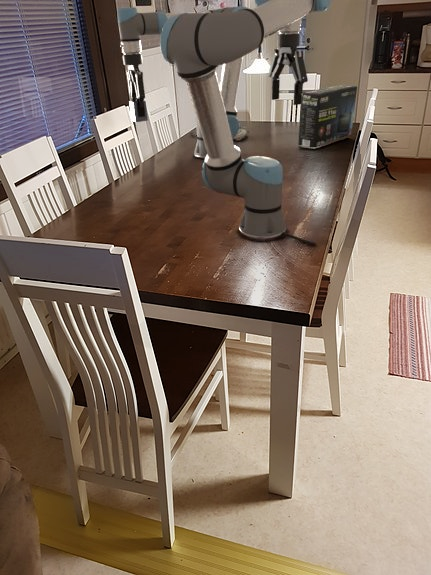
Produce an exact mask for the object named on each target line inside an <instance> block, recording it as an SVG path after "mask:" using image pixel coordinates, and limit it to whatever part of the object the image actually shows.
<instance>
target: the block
mask: <svg viewBox="0 0 431 575" xmlns="http://www.w3.org/2000/svg"><path fill="white" fill-rule="evenodd" d="M128 102H129V110H130V118H131V121H132V122H134V123H141V122H147V121H149V116H148V108H147V101H146V100H144V109H145V116H144V117H139V116H138V108H137V101H136V100H132V99H131V100H129V101H128Z"/></svg>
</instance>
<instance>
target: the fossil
mask: <svg viewBox="0 0 431 575" xmlns="http://www.w3.org/2000/svg"><path fill="white" fill-rule="evenodd" d="M249 132H250V129H249V128H248V127H245V126H242V127H241V126H240V127H239V131H238V134H237V135H236V136H235V137H234V138H233V140H234V139H240V138H243V139H245V137H247V135H246V134H247V133H249ZM249 134H250V133H249ZM244 136H245V137H244ZM235 141H236V142H240V141H241V140H235Z"/></svg>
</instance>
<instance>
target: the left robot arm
mask: <svg viewBox="0 0 431 575" xmlns="http://www.w3.org/2000/svg"><path fill="white" fill-rule="evenodd" d="M245 8H248V7H247V6H241V5H238V6H231V7H230V6H227V7H221V8H218V9H207V10H205V11H204V12H203V13H225V12H237V11H240V10H242V9H245ZM183 13H184V12H164V11H155V12H154V11H153V12H138V9H137V7H134V6H133V7H119V8H118V9H117V24H118V30H119V38H120V45H119V46H120V48H121V53H122V54H123V55H122V61H123V66H128V69H126V70H125V72H126V76H127V77H126V78H127V84H128V85H127V86H128V91H129V92H128V94H129V96H130V98H131V101H132V100H136V101H137V108H138V116H139V117H144V116H145V109H144V101H145V99H146V94H145V85H144V72H143V71H141V69H140V65H142V64H144V63H143V54H142V51H143V50H142V42H141V41H142V40H141V36H153V35H158V36H161V33H162V28H163V26H164V24H165V22H166V21H167V20H168V19H169V18H170V17H172V16H174V15H179V14H183ZM187 13H188V14H194V13H195V12H187ZM243 59H244V56H243V57H241V58H239V59H237V60H234V61H232V62H229V63H226V64H223V65H221V70H220V75H219V76H220V77H219V82H218V84H219V88H220V92H221V96H222V99H223V103H224V107H225V111H226V115H227V119H228V123H229V127H230V131H231V135H232V139H233V138H234V137H235V136H236V135H237V134H238V131H239V127H241V126H240V121H239V119H238V118H237V116H238V110H237V108H236V102H237V97H238V92H239V83H240V80H241V79H240V78H241V72H242V66H243ZM195 126H196V134H195V133H194V131H191V132H192V133H194V134H195V135H194V134H192V133H191V132H190V134H191V135H192V136H194V137H195V138H196V144H195V148H194V150H193V152H194V153H193V156H194V158H196V159H199V160H205V157H206V155H207V154H208V153H207V150H206V146H205V143H204V140H203V137H202V133H201V130H200V127H199V123H198V120H197V117H196V116H195ZM196 135H197V136H196ZM233 140H234V139H233Z"/></svg>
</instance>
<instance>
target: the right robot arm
mask: <svg viewBox="0 0 431 575" xmlns="http://www.w3.org/2000/svg"><path fill="white" fill-rule="evenodd" d="M331 3H332V0H254V4H255V7H254V8H250V7H247V8H245V9H242V10H240V11H237V12H225V13H204V12H193V13H194V14H188V13H189V12H182V13H183V14H179V15H174V16H172V17H170V18H169V19H168V20H167V21H166V22H165V24H164V26H163V28H162V33H161V34H160V35H159V36H160V37H159V48H160V52H161V56H162V58H163V59H164V60H165V61H166V62H168V63H169V64H171V65H172V66H174V67H175V70H176V73H177V77H178V78H179V79H181V80H183V81H185V84H186V87H187V90H188V93H189V96H190V101H191V103H192V107H193V111H194V113H195V118H196V117H197V120H198V123H199V127H200V130H201V133H202V137H203V140H204V143H205V146H206V150H207V153H208V154H207V155H206V157H205V159H204V161H203V163H202V167H201V168H202V170H201V177H202V180H203V183H204V185H205V186H206V188H208V189H209V190H211V191H213V192H216V193H220V194H224V195H227V196H228V195H229V196H232V197H237V198H242V199H243V200H244V211H243V213H242V216H241V220H240V222H239V226H238V232H239V235H240V236H241V237H242V238H244V239H247V240H250V241H254V242H271V241H277V240H279V239H281V238H283V237H287V238H290V239H293V240H294V241H297V242H301V243H303V244H305V245H306V244H307V245H310V246H314V247H315V246H317V242H314V241H310V240H307V239H304V238H301V237H298V236H296V235H293V234H290V233H287V223H286V221H285V216H284V214H283V210H282V200H283V183H284V174H283V173H284V172H283V171H284V169H283V166H282V164H281V163H280V162H279V161H278V160H277V159H274V158H272V157H268V156H264V155H262V156H260V155H254V156H253V155H252V156H249V157H247V158H245V159H243V155H242V152H241V151H242V150H241V149H240V147H238V146H236V145H235V144H234V143H235V142H234V139H232V135H231V131H230V127H229V123H228V119H227V115H226V111H225V107H224V103H223V99H222V96H221V92H220V88H219V80H218V75H217V70H218V68H219V66H222V65H223V64H226V63H229V62H232V61H234V60H237V59H239V58H241V57H243V58H244V57H245V56H246V55H248V54H250V53H253V52H254V51H255V50H257V49H259V48H260V47H261V46H262V45H263V43H264V41H265V40H266V39H268V38H270V37H271V36H273V35H274V34H276V33H278V34H277V36H276V47H277V48H274V50H273V56H272V60H271V64H270V67H269V69H268V70H269V71H268V74H267V76H268V78H270V80H271V100H272V101H275V100H280V81H281V80H280V79H281V78H280V76H281V73H282V72H283V70H284V67H285V66H288V67H289V68H290V70H291V73H292V76H293V78H294V86H293V103H292V104H293V106H299V105H301V100H302V93H303V91H304V90H303V89H304V84H305V83H308V81H309V80H308V79H309V78H308V73H307V69H306V64H305V60H304V50H302V49H299V50H298V47H300V45H301V34H300V33H299V32H301V31H302V18H304V17H306V16H307V15H309V14H310V13H314V12H315V13H319V12H325V11H327V10H328V9H329V8H330V6H331Z"/></svg>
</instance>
